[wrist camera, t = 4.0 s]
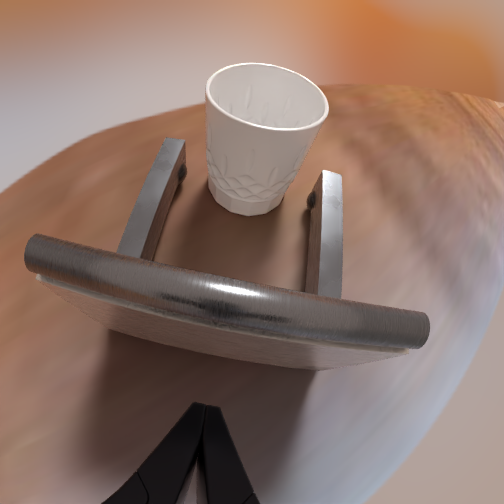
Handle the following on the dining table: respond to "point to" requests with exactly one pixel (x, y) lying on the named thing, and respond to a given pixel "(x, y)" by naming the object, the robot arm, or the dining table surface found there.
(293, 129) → the white cup
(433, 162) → the dining table surface
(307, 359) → the silver boxy shape
